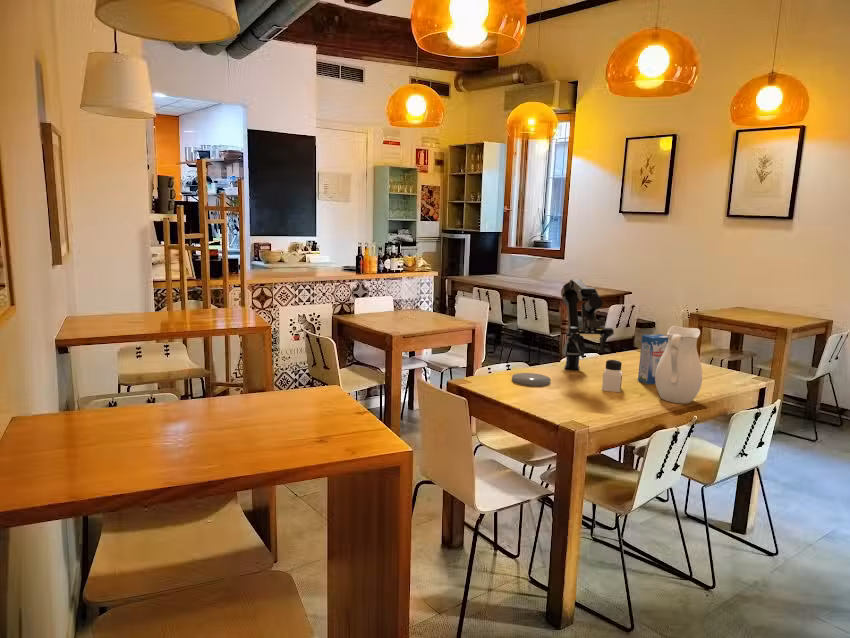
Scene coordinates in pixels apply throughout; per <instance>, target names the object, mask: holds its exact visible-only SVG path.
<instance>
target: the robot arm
mask: <svg viewBox="0 0 850 638" xmlns="http://www.w3.org/2000/svg"><path fill="white" fill-rule="evenodd" d="M596 289H597V288H595V287H591V286H588V285H586V284H585V283H584V282H583V280H582V279H579V278H578V279H573V278H572V279H570V280H569V281H568V282H567V283H565V284H564V285H563V286H562V289H561V291H560V296H561V297H562V298H561V299H562V302H563V303H564V305H565V306H566V314H567V327H568V328H567V329H566V331H565V336H566V337H567V338H566V340H565V344H564V346H563V348H562V355H563V356H565V357H566V360H565V365H564V370H569V371H580V366H579V365H580V357H583V358H584V355H585V351H586V348H587V347H586V343H585V342H584V336H583V335H599V336H600V337H599V347H600V348H599V349H600V353H601V354H602V353H603V352H604V348H605V346H606V342H607V340H608V339H609V338H611V337H612V336H614V334H615V333H614V329H613V328H612V327H605V325H606V321H605V320H606V319H605V317H599V318H597V315H596V313H597V311H598V310H600V309H601V308H602V307H603V304H604V303H603V302H604V301H603V299H602V298H601V296H600V295H599V293H598V290H596ZM579 301H580V302H582V304H581V306H580V311H581V319H580V323H581V327H582V329H580V327H579V316H578V302H579ZM601 327H602V329H601Z"/></svg>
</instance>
